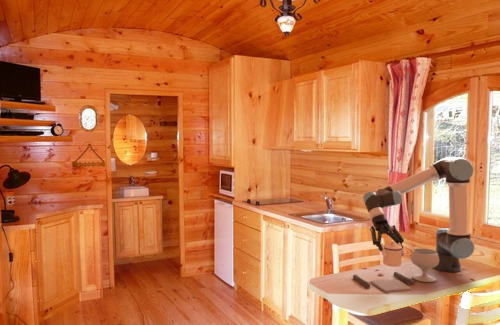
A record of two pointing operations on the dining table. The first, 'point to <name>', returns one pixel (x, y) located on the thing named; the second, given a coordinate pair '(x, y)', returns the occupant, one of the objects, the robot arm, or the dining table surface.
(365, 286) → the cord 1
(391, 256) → the teacup with lid
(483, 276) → the dining table surface
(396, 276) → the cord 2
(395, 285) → the slate tile
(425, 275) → the chalice
